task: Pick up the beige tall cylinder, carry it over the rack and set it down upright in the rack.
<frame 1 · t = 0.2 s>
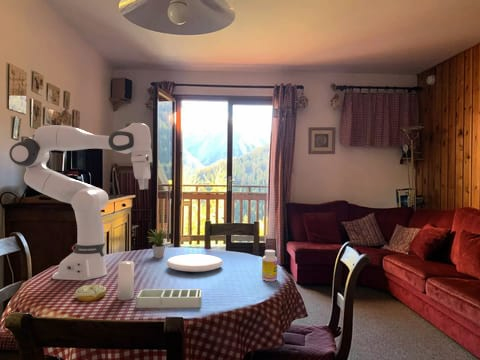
hand: (144, 189, 166), 39 cm above the table, tool pointing down, fingers open, 8 cm apart
supplement bottle: (269, 280, 163), on the table
house plant: (157, 256, 205), on the table
plate: (194, 269, 181), on the table
decorated donut: (90, 298, 136), on the table
rack: (170, 303, 131), on the table
beige tall cylinder: (125, 297, 136), on the table
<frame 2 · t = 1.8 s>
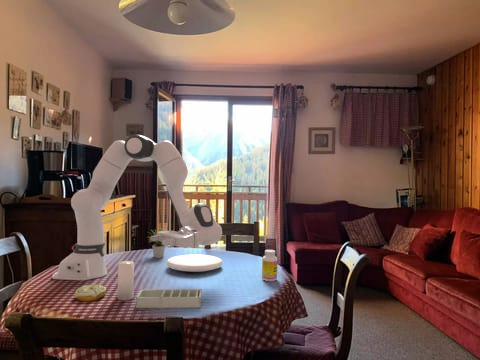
hand: (156, 240, 144), 20 cm above the table, tool horizontal, fingers open, 8 cm apart
nothing on the table moved.
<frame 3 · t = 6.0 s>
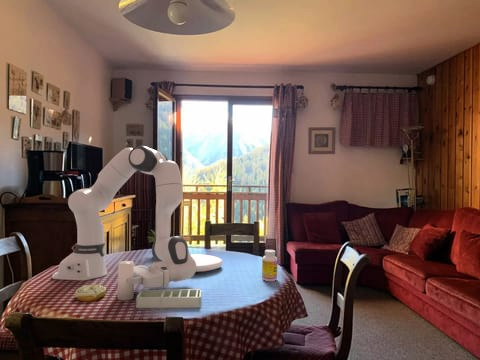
hand: (123, 279, 135), 7 cm above the table, tool horizontal, fingers closed on beige tall cylinder, 6 cm apart
beige tall cylinder: (125, 297, 136), on the table, touching gripper
everything else where it was.
when the fingers open (9 cm above the table, at t = 10.3 s): beige tall cylinder drops 1 cm, resting on rack.
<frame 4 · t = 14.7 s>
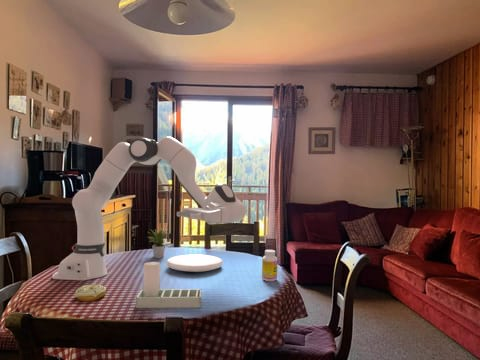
hand: (183, 215, 144), 30 cm above the table, tool horizontal, fingers open, 8 cm apart
beige tall cylinder: (151, 300, 131), point 1 cm above the table, touching rack
everything else where it was.
at the end: beige tall cylinder 0.1 cm from the target spot on the rack, point 1.0 cm above the rack's base; beige tall cylinder tilted 0°; the gripper is holding nothing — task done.
